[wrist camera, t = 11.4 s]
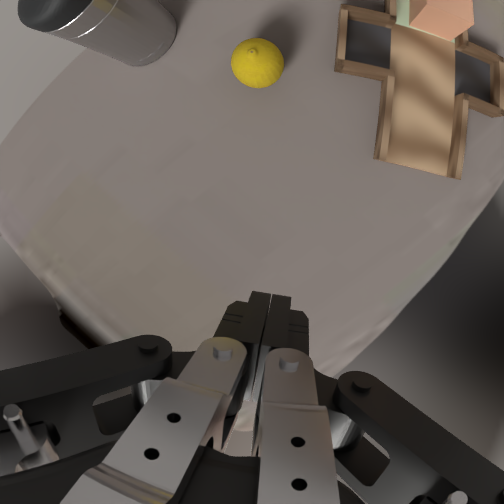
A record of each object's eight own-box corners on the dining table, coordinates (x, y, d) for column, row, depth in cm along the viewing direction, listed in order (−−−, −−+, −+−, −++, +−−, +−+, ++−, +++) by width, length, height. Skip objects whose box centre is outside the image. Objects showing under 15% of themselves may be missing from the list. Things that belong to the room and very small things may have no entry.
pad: (453, 44, 28) (454, 43, 27) (390, 23, 29) (391, 22, 28) (449, -10, 25) (450, -11, 24) (389, -30, 26) (390, -31, 25)
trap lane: (484, 188, 32) (496, 191, 30) (325, 149, 35) (327, 149, 32) (486, 2, 24) (495, -5, 21) (341, -45, 26) (343, -56, 23)
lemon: (289, 55, 32) (285, 31, 25) (281, 97, 34) (276, 81, 26) (243, 50, 33) (228, 26, 25) (235, 90, 34) (218, 75, 27)
